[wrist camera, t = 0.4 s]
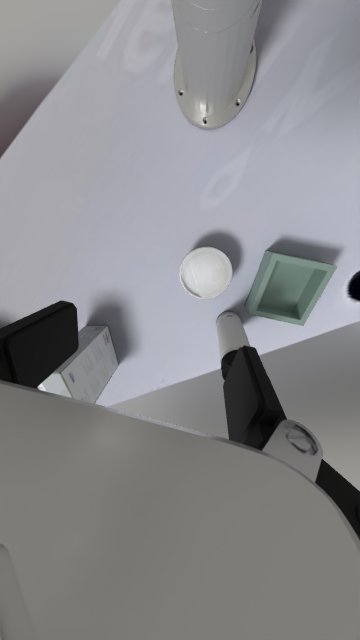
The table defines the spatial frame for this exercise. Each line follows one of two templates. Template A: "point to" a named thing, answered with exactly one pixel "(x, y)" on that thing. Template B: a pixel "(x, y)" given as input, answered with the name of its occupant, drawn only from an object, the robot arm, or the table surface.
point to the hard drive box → (85, 367)
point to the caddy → (287, 287)
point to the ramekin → (205, 272)
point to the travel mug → (229, 339)
